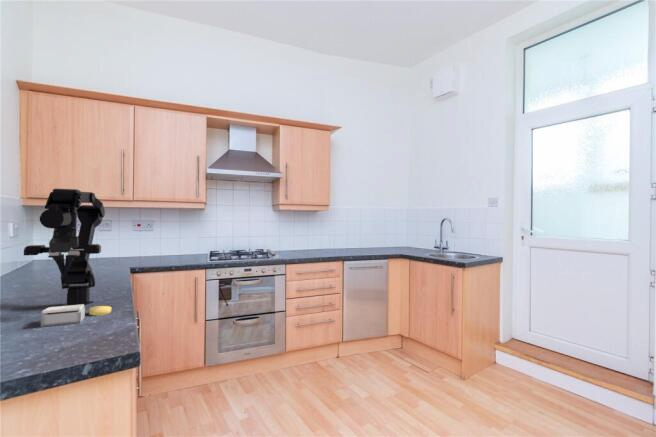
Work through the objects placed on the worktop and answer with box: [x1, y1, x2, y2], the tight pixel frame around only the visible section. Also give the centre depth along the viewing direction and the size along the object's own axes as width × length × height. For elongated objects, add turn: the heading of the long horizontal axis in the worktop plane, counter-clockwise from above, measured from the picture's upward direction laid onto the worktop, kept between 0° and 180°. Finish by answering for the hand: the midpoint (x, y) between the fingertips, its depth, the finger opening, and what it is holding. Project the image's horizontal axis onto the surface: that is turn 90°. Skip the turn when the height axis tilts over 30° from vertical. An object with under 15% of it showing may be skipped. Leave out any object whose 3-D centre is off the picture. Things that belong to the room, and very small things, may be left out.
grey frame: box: [40, 306, 86, 328], centre depth 97 cm, size 7×9×3 cm
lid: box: [41, 304, 85, 315], centre depth 97 cm, size 7×9×1 cm
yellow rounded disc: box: [88, 305, 112, 317], centre depth 107 cm, size 6×6×2 cm
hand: (64, 276), depth 105 cm, fingers closed
